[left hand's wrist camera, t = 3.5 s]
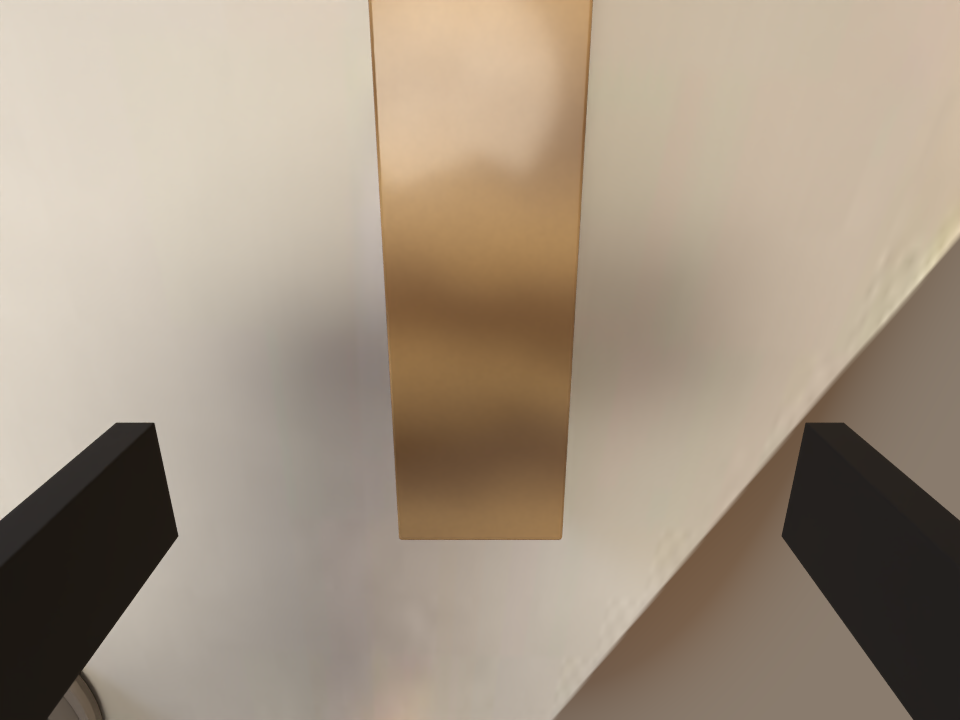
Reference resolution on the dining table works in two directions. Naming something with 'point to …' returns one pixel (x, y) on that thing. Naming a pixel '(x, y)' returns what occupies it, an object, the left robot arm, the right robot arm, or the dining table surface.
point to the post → (480, 255)
